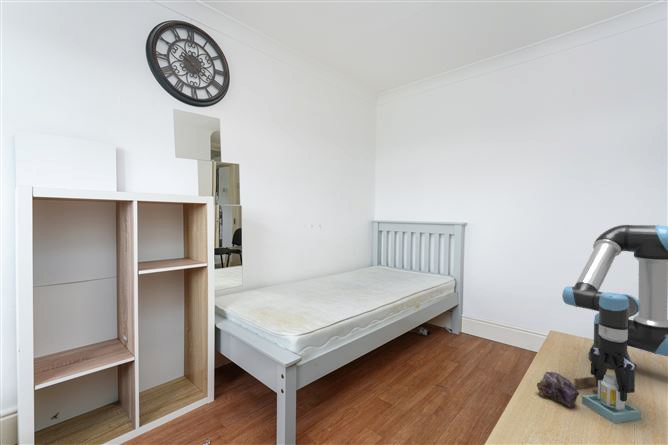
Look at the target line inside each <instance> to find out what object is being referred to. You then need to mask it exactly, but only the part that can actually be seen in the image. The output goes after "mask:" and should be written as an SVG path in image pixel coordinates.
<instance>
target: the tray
mask: <svg viewBox="0 0 668 445" xmlns="http://www.w3.org/2000/svg"><path fill="white" fill-rule="evenodd" d="M581 403H582V405H585V407H588V409H591V410H592V411H594V412H595V413H597V414H599V415H600V416H602V417H604V418H605V419H606V420H608V421H610V422H611V423H613V424H620V423H627V422H633V421H634V422H635V421H641V420H642V411H641V410H639V409H638V408H636V407H634V406H632V405H631V404H629V403H627V402H625V409H621V410H617V409H616V408H611V407H608V406H606V405H604V404H603V403H602V402H601V400H600V399H598V394H593V393H592V394H587V395H582V396H581Z"/></svg>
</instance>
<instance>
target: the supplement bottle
mask: <svg viewBox="0 0 668 445" xmlns="http://www.w3.org/2000/svg"><path fill="white" fill-rule="evenodd" d="M616 390H619V388H618V384H617V380H616V375H612V374H606V375H604V379H603V381H602V382H601V397H600V400H601V402H602V403H603V404H604V405H606V406H608V407H611V408H616Z"/></svg>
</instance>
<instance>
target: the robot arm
mask: <svg viewBox="0 0 668 445" xmlns="http://www.w3.org/2000/svg"><path fill="white" fill-rule="evenodd" d="M592 248H593V251H592V252H591V254H590V256H589V258H588V260H587V262H586V263H585V266H584V267H583V269H582V271H581V273H580V275H579V277H578V279H577V280H576V282H575V285H574V286H569V285H568V286H566V287H564V288H563V290H562V293H561V294H562V301H563V302H564V303H565V304H566V305H569V306H573V307H575V308H583V309H587V310H591V311H595V312H598V313H595V315H594V318H593V319H594V320H593V343H592V346H591V347H590V349H589V352H588V357H587V358H588V360H589V361H590V371H589V372H590V375H591V376H593V377H594V376H595V378H596V387H595V388H596V389H597V388H598V399H600V397H601V382H602V381H603V380H604V375H607V371H608V369H609V370H613V371H614V376H615V377H616V380H617V384H618V388H619V390H616V409H617V410H621V409H625V403H626V402H627V401H628V394H631V393H633V394H634V393H635V391H636V388H635V387H636V385H635V381H636V380H635V376H636V375H635V374H636V373H635V371H636V369H637V364H636V363H633V362H632V359H631V357H630V353H629V351H628V347H629V348H633V349H637V350H640V351H644V352H648V353H651V354H654V355H660V356H663V357H668V225H667V226H666V225H659V224H658V225H655V224H653V225H652V224H651V225H649V224H648V225H647V224H646V225H645V224H644V225H643V224H639V225H636V224H635V225H634V224H631V225H630V224H620V225H616V226H614V227H611V228H609V229H607V230H605V231H604V232H602V233H601V234H600V235H599V236H598V237H597V238H596V240H595V241H594V242H593V246H592ZM622 252H628V253H629V252H630V253H633V258H635V259H636V260H637V261H638V298H636V297H635V296H633V295H631V294H626V293H625V294H624V293H618V292H617V293H616V292H603V291H600V290H601V287H602V285H603V283H604V281H605V279H606V277H607V275H608V273H609V270H610V268H611V267H612V264H613V262H614V260H615V258H616V257H618V256H619V255H621V253H622ZM631 317H633V319H630V318H631Z"/></svg>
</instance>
